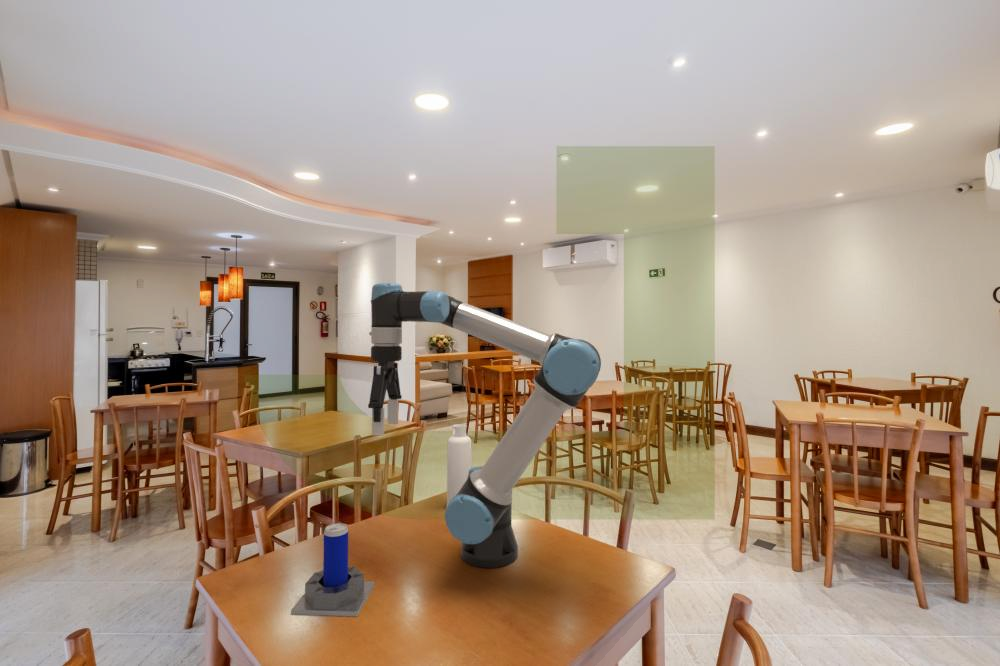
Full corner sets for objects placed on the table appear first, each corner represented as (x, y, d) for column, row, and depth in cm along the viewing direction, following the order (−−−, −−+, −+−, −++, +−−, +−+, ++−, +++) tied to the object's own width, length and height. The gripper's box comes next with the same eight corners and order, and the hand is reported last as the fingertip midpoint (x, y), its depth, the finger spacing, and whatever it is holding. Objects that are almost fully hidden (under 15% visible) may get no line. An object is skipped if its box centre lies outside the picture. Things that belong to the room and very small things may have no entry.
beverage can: (340, 586, 110) (341, 520, 109) (352, 594, 106) (352, 527, 106) (318, 595, 106) (319, 527, 106) (330, 604, 102) (330, 534, 102)
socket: (374, 585, 112) (374, 566, 112) (357, 616, 100) (357, 594, 100) (315, 584, 112) (315, 565, 112) (291, 614, 100) (291, 593, 100)
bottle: (473, 512, 157) (474, 427, 157) (449, 514, 155) (449, 428, 155) (468, 503, 165) (468, 422, 165) (444, 505, 163) (445, 423, 163)
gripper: (385, 343, 133) (384, 419, 133) (355, 346, 108) (354, 440, 108) (412, 343, 133) (411, 420, 133) (388, 346, 108) (387, 440, 108)
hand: (385, 429), depth 120 cm, fingers open, 13 cm apart
